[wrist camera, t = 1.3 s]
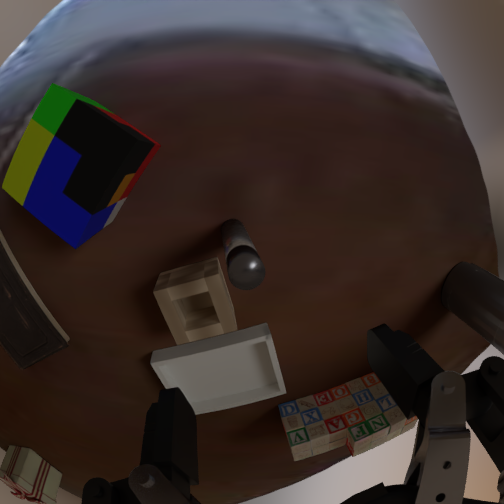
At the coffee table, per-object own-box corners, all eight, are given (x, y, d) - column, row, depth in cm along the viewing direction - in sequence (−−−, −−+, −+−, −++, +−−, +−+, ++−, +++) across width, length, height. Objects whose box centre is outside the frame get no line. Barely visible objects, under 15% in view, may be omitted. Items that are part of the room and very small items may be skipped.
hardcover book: (-7, 203, 25) (-17, 207, 23) (74, 337, 33) (68, 346, 31) (-44, 255, 25) (-52, 260, 23) (25, 363, 33) (20, 371, 31)
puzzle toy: (112, 221, 28) (75, 249, 19) (52, 175, 25) (1, 187, 16) (161, 145, 27) (138, 139, 17) (95, 101, 24) (52, 82, 14)
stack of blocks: (281, 422, 44) (297, 475, 32) (277, 403, 42) (294, 462, 30) (385, 385, 45) (415, 428, 34) (389, 364, 43) (423, 408, 32)
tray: (266, 322, 35) (270, 334, 33) (282, 381, 40) (286, 393, 37) (152, 351, 35) (150, 363, 32) (185, 404, 39) (184, 416, 36)
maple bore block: (217, 256, 32) (218, 273, 27) (233, 307, 34) (237, 330, 30) (160, 272, 31) (152, 291, 27) (180, 321, 34) (177, 344, 29)
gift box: (20, 438, 40) (3, 482, 24) (65, 473, 46) (56, 515, 30) (-1, 438, 40) (-15, 475, 24) (40, 471, 47) (30, 507, 30)
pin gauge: (241, 216, 30) (260, 251, 19) (247, 238, 31) (268, 284, 20) (218, 222, 30) (224, 261, 19) (224, 244, 31) (233, 294, 20)
